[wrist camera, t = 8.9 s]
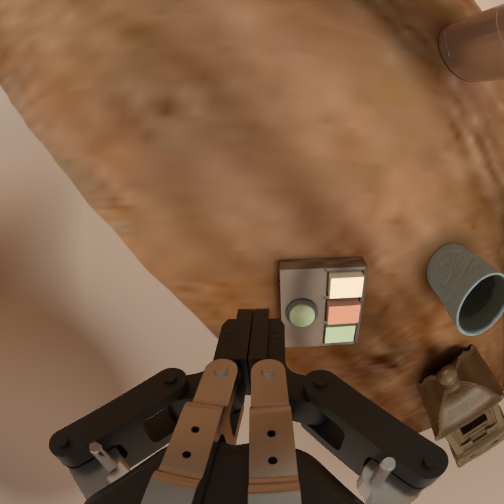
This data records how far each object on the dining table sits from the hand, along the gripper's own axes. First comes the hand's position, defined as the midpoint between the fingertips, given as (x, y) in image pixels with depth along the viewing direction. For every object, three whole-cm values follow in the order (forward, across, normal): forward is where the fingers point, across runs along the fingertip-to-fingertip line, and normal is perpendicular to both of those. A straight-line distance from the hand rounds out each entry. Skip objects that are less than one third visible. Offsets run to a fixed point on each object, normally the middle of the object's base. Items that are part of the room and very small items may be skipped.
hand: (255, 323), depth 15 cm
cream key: (+25, -10, +12) cm, 29 cm away
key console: (+27, -8, +16) cm, 33 cm away
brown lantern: (+27, -41, +42) cm, 64 cm away
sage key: (+26, -10, +21) cm, 35 cm away
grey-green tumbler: (+27, -29, +12) cm, 42 cm away
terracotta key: (+25, -10, +16) cm, 32 cm away
